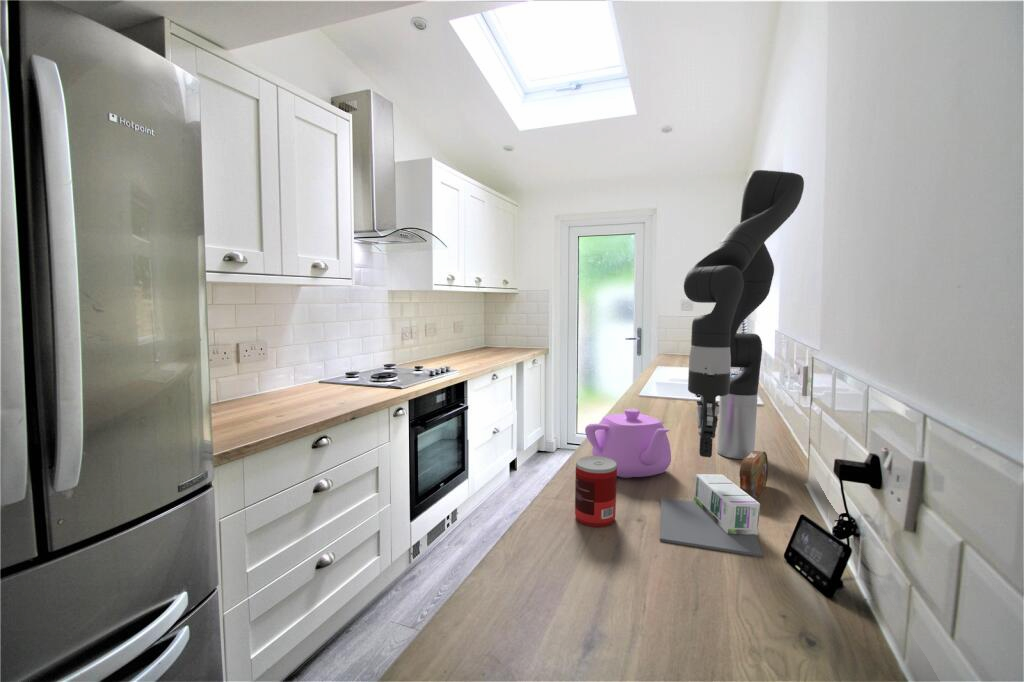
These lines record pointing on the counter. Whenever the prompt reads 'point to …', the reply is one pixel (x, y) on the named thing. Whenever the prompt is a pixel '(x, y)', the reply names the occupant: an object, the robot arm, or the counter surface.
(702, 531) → the mat
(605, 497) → the canned food
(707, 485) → the syrup box
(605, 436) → the teapot
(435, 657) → the counter surface
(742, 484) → the tin
